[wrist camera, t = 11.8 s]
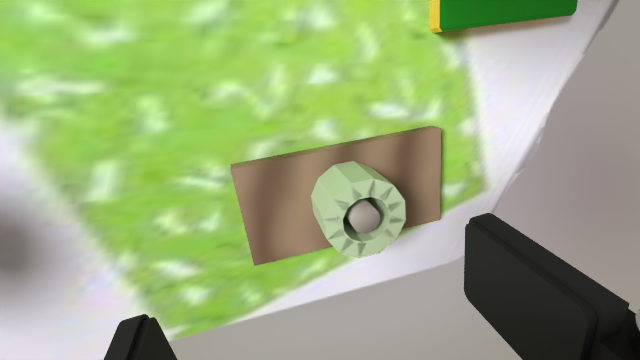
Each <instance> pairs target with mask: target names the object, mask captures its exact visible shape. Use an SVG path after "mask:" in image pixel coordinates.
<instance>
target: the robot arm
mask: <svg viewBox="0 0 640 360" xmlns="http://www.w3.org/2000/svg"><path fill="white" fill-rule="evenodd" d="M464 270H465V271H464V292H465V295H466V297H467V299H468V300H469V301H470V303H471V304H472V305H473V306H474V307H475V308H476V309H477V310H478V311H479V312H480V313H481V314H482V316H483V317H484V318H485V319H486V320H487V321H488V322H489V323H490V324H491V325H492V327H493V328H494V329H495V330H496V331H497V332H498V333H499V334H500V335H501V336H502V338H503V339H504V340H505V341H506V342H507V343H508V344H509V345H510V346H511V347H512V349H513V350H514V351H515V352H516V353H517V354H518V355H519V356H520V357H521V358H522V359H523V360H640V309H639V310H638V312H637V313H636V314H635V313H634V312H632V311H631V310H629V309H628V307H629V303H628V302H626V301H625V300H623V299H622V298H620V297H619V296H617V295H615V294H614V293H612V292H611V291H609V290H608V289H606V288H605V287H603V286H602V285H600V284H599V283H597V282H595V281H594V280H593V279H591V278H589V277H588V276H586V275H585V274H583V273H582V272H580V271H579V270H577V269H576V268H574V267H573V266H571V265H569V264H568V263H566V262H565V261H564V260H562V259H560V258H559V257H557V256H556V255H554V254H553V253H551V252H550V251H548V250H547V249H545V248H544V247H542V246H540V245H539V244H538V243H536V242H534V241H533V240H531V239H530V238H528V237H527V236H525V235H524V234H522V233H521V232H519V231H518V230H516V229H514V228H513V227H511V226H510V225H508V224H507V223H505V222H504V221H502V220H501V219H499V218H497V217H496V216H495V215H493V214H491V213H486V214H483V215H479V216H476V217H473V218H471V219H470V220H469V224H467V225H466V227H465V268H464ZM104 360H177V358H176V356H175V354H174V352H173V350H172V348H171V347H170V345H169V343H168V341H167V339H166V337H165V335H164V333H163V331H162V329H161V327H160V325H159V323H158V321H157V320H156V318H154V317H152V318H149V317H148V316H147V315H146V314H143V315H140V316H136V317H133V318H129V319H126V320H123V321H121V322H120V323H119V325H118V327H117V330H116V332H115V334H114V337H113V339H112V341H111V344H110V346H109V349H108V351H107V353H106V356H105V358H104Z"/></svg>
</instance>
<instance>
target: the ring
mask: <svg viewBox="0 0 640 360" xmlns="http://www.w3.org/2000/svg"><path fill="white" fill-rule="evenodd" d="M363 198H367V199H366V200H367V201H368V202H369V203H370V204H371V205H372V206H373V207H374V208H375V209H376V210H377V211H378V213H379V215H380V221H379V224H378V226H377V227H376V228H375V229H374V230H373V231H371V232H369V233H364V234H363V233H359V232H357V231H356V230H355V229H354V228H353V226H352V225H351V223H350V222H349V220H348V219H347V218H346V216H345V213H346V211H347V209H348V208H349V207H350V206H351V205H352V204H353V203H355V202H356V201H357V200H358V199H363ZM311 200H312V206H313V213H314V215H315V217H316V219H317V221H318V223H319V225H320V227H321V229H322V231H323V233H324V235H325V237H326V239H327V240H328V241H329V242H330V243H331V245H332V246H333V247H334V248H335V249H336V250H337V251H338V252H339V253H340V254H344V255H348V256H352V257H357V258H362V257H365V256H369V255H373V254H377V253H380V252H381V251H382V250H384V249H385V248H386V247H387V246H389V245H390V244H391V243H392V242H394V241H395V240H396V239H397V237H398V235H399V233H400V231H401V229H402V227H403V225H404V223H405V221H406V214H405V200H404V199H403V197H402V196H401V194H400V193H399V192H398V190H397V189H396V188H395V186H394V185H393V184H392V183H390V182H389V181H388V180H387V179H385V178H384V177H383V176H382V175H380V174H379V173H378V172H376V171H375V170H374V169H373V168H371V167H370V166H367V165H364V164H361V163H358V162H355V161H350V162H345V163H340V164H335V165H333V166H332V167H331V168H330V169H328V170H327V171H326V172H325V173H323V174H322V175H321V176H320V177H319V178H318V180H317V182H316V185H315V187H314V190H313V192H312V194H311Z"/></svg>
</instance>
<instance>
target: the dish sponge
mask: <svg viewBox="0 0 640 360" xmlns="http://www.w3.org/2000/svg"><path fill="white" fill-rule="evenodd" d="M576 7H577V0H430V30H431V31H432V32H433V33H436V32H444V31H452V30H460V29H468V28H475V27H483V26H491V25H499V24H507V23H515V22H523V21H530V20H538V19H546V18H554V17H561V16H569V15H573V13H574V12H575V11H576Z"/></svg>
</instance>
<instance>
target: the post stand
mask: <svg viewBox="0 0 640 360" xmlns="http://www.w3.org/2000/svg"><path fill="white" fill-rule="evenodd" d="M350 161H355V162H358V163H361V164H364V165H367V166H370V167H371V168H373V169H374V170H375V171H376V172H378V173H379V174H380V175H382V176H383V177H384V178H385V179H387V180H388V181H389V182H390V183H392V184H393V185H394V186H395V188H396V189H397V190H398V192H399V193H400V194H401V196H402V197H403V199H404V200H405V214H406V221H405V223H404V225H403V227H402V229H404V228H408V227H412V226H416V225H420V224H424V223H428V222H432V221H436V220H440V183H441V128H438V127H435V126H428V127H423V128H418V129H412V130H407V131H402V132H397V133H392V134H387V135H381V136H376V137H371V138H366V139H361V140H355V141H350V142H345V143H340V144H335V145H329V146H324V147H319V148H314V149H309V150H303V151H298V152H293V153H288V154H283V155H278V156H272V157H267V158H262V159H257V160H252V161H246V162H241V163H236V164H231V173H232V177H233V181H234V185H235V189H236V193H237V197H238V201H239V205H240V209H241V213H242V218H243V222H244V226H245V230H246V234H247V238H248V242H249V246H250V250H251V254H252V258H253V262H254V266H256V265H260V264H264V263H268V262H272V261H276V260H280V259H284V258H288V257H292V256H296V255H300V254H304V253H308V252H312V251H316V250H320V249H324V248H328V247H332V245H331V243H330V242H329V241H328V240H327V239H326V237H325V235H324V233H323V231H322V229H321V227H320V225H319V223H318V221H317V219H316V217H315V215H314V213H313V206H312V200H311V194H312V192H313V190H314V187H315V185H316V182H317V180H318V178H319V177H320V176H321V175H322V174H323V173H325V172H326V171H327V170H328V169H330V168H331V167H332V166H333V165H335V164H340V163H345V162H350ZM366 199H367V198H363V199H358V200H357V201H356V202H355V203H353V204H352V205H351V206H350V207H349V208H348V209H347V211H346V213H345V216H346V218H347V219H348V220H349V222H350V223H351V225H352V226H353V228H354V229H355V230H356V231H357V232H359V233H363V234H364V233H369V232H371V231H373V230H374V229H375V228H376V227H377V226H378V224H379V221H380V215H379V213H378V211H377V210H376V209H375V208H374V207H373V206H372V205H371V204H370V203H369V202H368V201H367V200H366Z"/></svg>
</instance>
